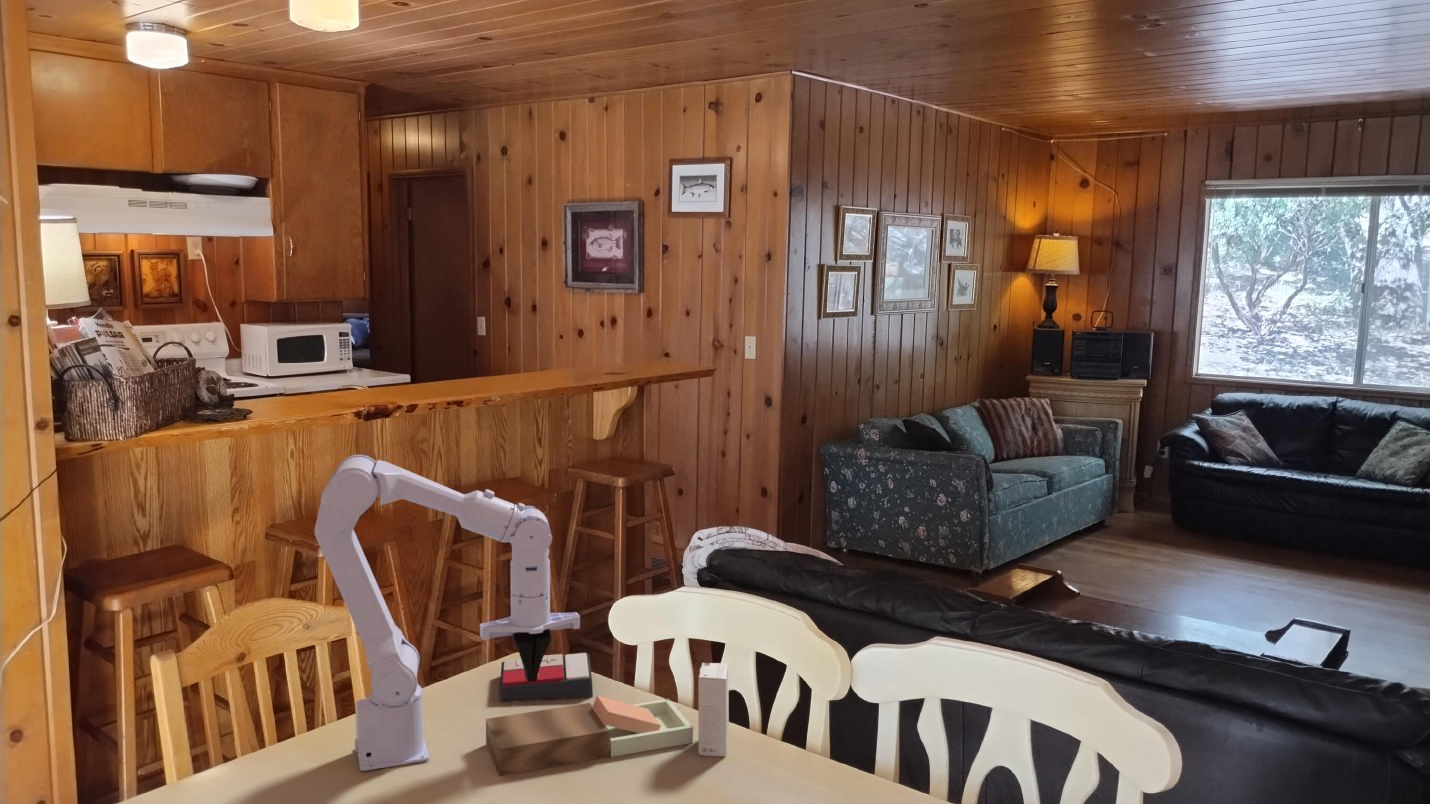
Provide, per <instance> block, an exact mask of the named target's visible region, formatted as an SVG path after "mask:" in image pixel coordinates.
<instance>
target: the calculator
mask: <svg viewBox="0 0 1430 804" xmlns="http://www.w3.org/2000/svg"><path fill="white" fill-rule="evenodd" d="M499 678H500V679H499V680H500V681H499V699H500V701H499V702H500V703H516V702H515V701H520V702H534V701H535V700H538V701H547V700H548V701H549V700H561V699H566V700H575V699H591V698H593V697H594V694H593V693H594V692H593V677H592V667H591V660H590V654H589V653H587V652H578V653H570V654H565V655H563V654H562V653H557V654H549V655H548V654H546V655H545V654H544V656H543V659H542V662H541V665H540V668H539V672H538V677H537V681H533V682H527V680H526V678H525V673H524V667H523V663H522V660H521V657H516V658H514V657H513V658H505V659H504V661H502V662H501V668H500V677H499Z"/></svg>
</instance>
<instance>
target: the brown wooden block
mask: <svg viewBox="0 0 1430 804" xmlns="http://www.w3.org/2000/svg"><path fill="white" fill-rule="evenodd" d="M592 706H593V704H592V703H591V702H588V703H587V702H586V703H581V704H579V703H578V704H575V705H574V704H573V705H568V706H567V705H566V706H562V707H554V708H548V709H542V710H536V711H535V710H534V711H527V712H523V713H514V714H510V715H503V716H496V717H489V718H485V744H486V745H485V746H486V747H487V749H488V753H489V754H490V757H491V760H492V762H493V764H494V766H495V769H496V772H497V774H498V776H505V775H511V774H515V773H523V772H529V771H534V770H539V769H545V768H550V767H551V768H552V767H556V766H563V765H567V764H573V763H579V762H586V761H591V760H595V759H601V758H608V757H609V756H610V754H609V730H608V729H607V727H606V726H605V725H604V724H603V723H602V722H601V720H600V719H599V717H598V716H597V714H596V713H595V711H594V710H593V708H592Z"/></svg>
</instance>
